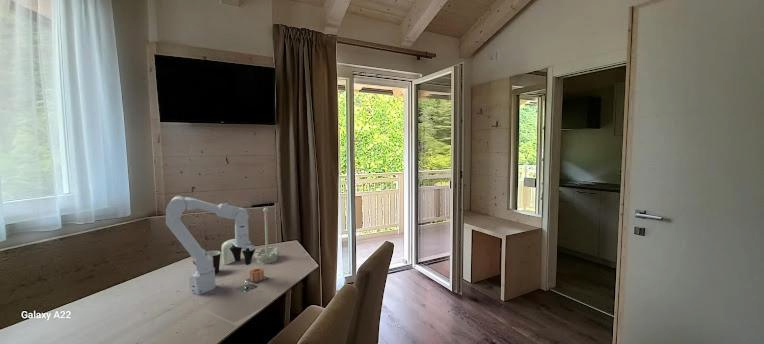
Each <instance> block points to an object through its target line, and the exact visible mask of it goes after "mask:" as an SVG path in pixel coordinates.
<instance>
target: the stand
mask: <svg viewBox="0 0 764 344" xmlns="http://www.w3.org/2000/svg"><path fill="white" fill-rule="evenodd" d="M258 287H259V286H258V285H257V284H254V283H251V282H249V281H248V280H247V279H245V280H244V284H243V285H241V286H238V287H236V288H235V290H237V291H238V292H243V293H244V294H245V293H247V292H250V291H252V290H254V289H257V288H258Z"/></svg>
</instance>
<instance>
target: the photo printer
mask: <svg viewBox="0 0 764 344" xmlns="http://www.w3.org/2000/svg"><path fill="white" fill-rule="evenodd" d="M232 241H235V238H232V239H228V240H226V241H224V242H223V243H222V244H221V248H220V249H221V263H222V265H225V266H227V265H230V264H233V263H235V259H234V256H233V254H232V252H231V250H230V247H232V246H231V242H232Z"/></svg>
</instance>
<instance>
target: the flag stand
mask: <svg viewBox="0 0 764 344" xmlns="http://www.w3.org/2000/svg"><path fill="white" fill-rule="evenodd" d="M269 210H270V209H269V208H268V207H264V208H263V209H262V212H263V213H264V239H265V240H264V241H265V242H264V243H265V248H264V247H261V248H258V249H255V252H254V258H255V259H256V262H257V263H258V264H262V263H264V264H270V263H271V262H272V263H275V262H276V261H277V260H278V259H279V257H278V256H279V255H280V249H279V247H274V248H273V246H269V225H268V224H269V223H268V221H269V219H268V213H269ZM274 261H275V262H274ZM272 263H271V264H272Z"/></svg>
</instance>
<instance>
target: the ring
mask: <svg viewBox="0 0 764 344" xmlns="http://www.w3.org/2000/svg"><path fill="white" fill-rule="evenodd" d="M264 271H265V270H264V268H263V267H255V268H252V269H250V271H249V278H250V280H251V281H260V280H262V279H264V276H265V273H264Z"/></svg>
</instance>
